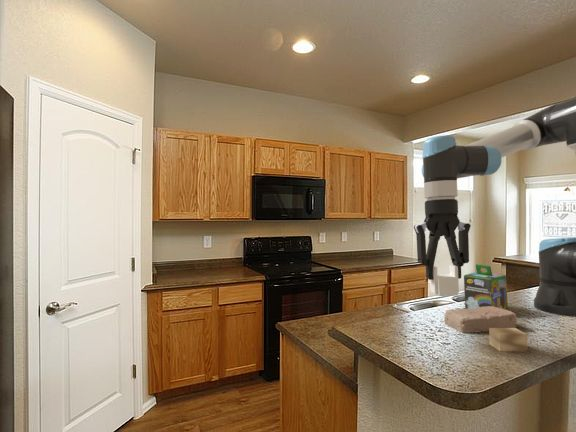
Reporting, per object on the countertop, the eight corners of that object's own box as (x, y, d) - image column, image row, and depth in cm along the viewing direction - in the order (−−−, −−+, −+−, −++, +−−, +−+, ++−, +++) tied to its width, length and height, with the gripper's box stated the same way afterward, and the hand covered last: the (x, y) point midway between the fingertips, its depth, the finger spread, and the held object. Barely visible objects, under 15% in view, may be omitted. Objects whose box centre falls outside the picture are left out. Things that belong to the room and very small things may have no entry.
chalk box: (508, 311, 103) (507, 265, 103) (492, 315, 99) (491, 267, 99) (479, 304, 111) (478, 261, 111) (463, 308, 107) (462, 264, 107)
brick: (463, 334, 84) (462, 316, 84) (442, 324, 92) (442, 307, 92) (518, 330, 87) (518, 313, 87) (493, 321, 95) (493, 305, 95)
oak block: (515, 344, 77) (515, 327, 77) (527, 351, 73) (526, 333, 73) (489, 344, 77) (489, 328, 77) (499, 351, 73) (499, 334, 73)
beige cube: (448, 291, 83) (447, 273, 83) (457, 295, 78) (457, 277, 78) (431, 291, 83) (430, 274, 83) (439, 296, 78) (438, 277, 78)
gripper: (466, 198, 85) (470, 287, 85) (400, 201, 84) (403, 290, 84) (484, 197, 77) (488, 294, 77) (412, 199, 77) (415, 297, 77)
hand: (444, 291), depth 81 cm, fingers closed on beige cube, 4 cm apart
